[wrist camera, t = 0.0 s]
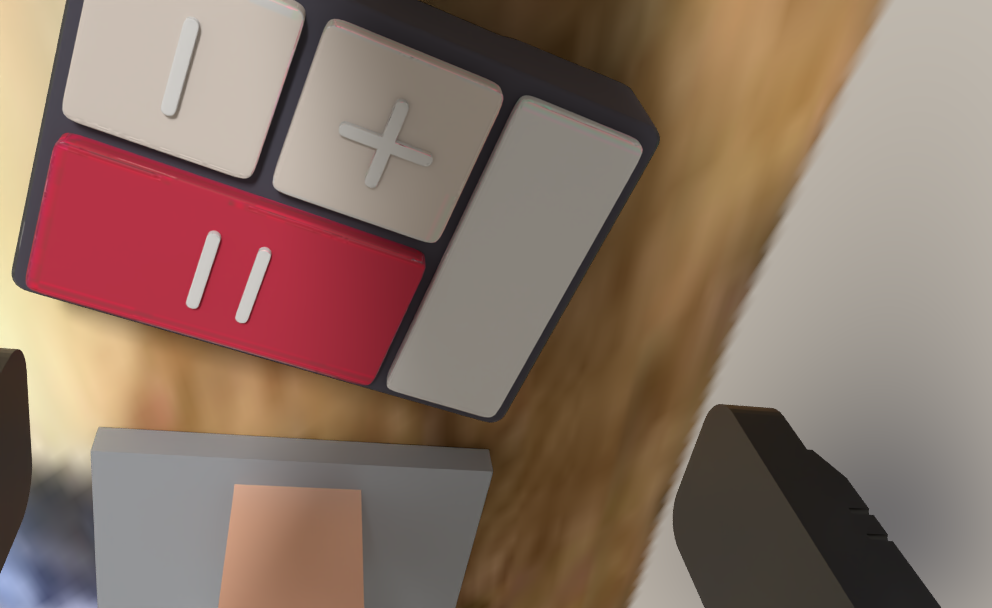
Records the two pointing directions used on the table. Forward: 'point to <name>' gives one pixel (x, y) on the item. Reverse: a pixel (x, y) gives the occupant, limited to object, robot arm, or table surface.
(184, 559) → the build board
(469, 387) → the calculator
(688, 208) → the table surface
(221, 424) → the table surface
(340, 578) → the pillar block
